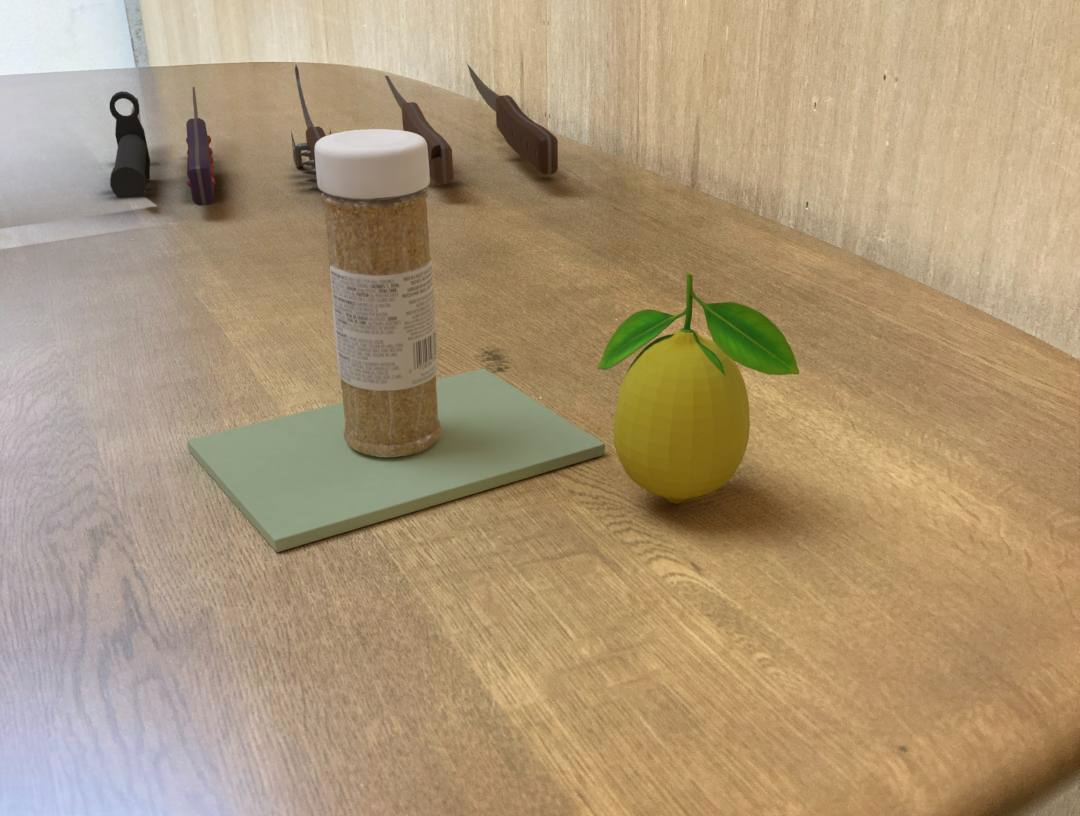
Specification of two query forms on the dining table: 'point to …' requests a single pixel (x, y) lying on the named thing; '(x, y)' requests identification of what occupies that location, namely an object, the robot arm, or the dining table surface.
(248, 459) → the mat
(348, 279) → the sprinkles bottle
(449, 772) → the dining table surface
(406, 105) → the knife set
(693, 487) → the lemon
